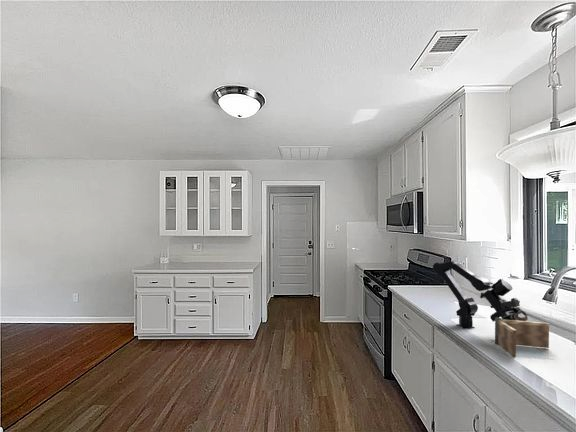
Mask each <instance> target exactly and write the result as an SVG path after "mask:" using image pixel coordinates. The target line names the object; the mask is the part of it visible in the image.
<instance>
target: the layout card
mask: <svg viewBox="0 0 576 432" xmlns="http://www.w3.org/2000/svg"><path fill="white" fill-rule="evenodd" d="M491 343H492V344H493V346H495V347H497V348H498V349H499V350H500V351H501V352H503V353H504V354H505V355H506V356H507V357H512V358H514V357H513V356H511V355H510V354H509V353H508V352H506V351H505V350H504V349H503V348H501V347H500V346H499V345H497V344H495V341H493V342H492V341H491ZM515 358H524V359H525V358H526V359H527V358H529V359H541V360H551V361H552V360H554V359H553V358H551V357H550V356H549V355H547V354H545V353H544V352H542V351H541V350H539V349H538V348H537V347H531V346H521V345H516V357H515Z"/></svg>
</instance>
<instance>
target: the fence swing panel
mask: <svg viewBox="0 0 576 432" xmlns="http://www.w3.org/2000/svg"><path fill="white" fill-rule="evenodd" d="M501 321H503V322H504V323H506V324H507V325H509V326H511V327H512V328H514V329H515V330H517V333H516V345H521V346H531V347H535V348H543V349H546V348H547V349H549V347H550V346H549V345H550V323H549V322H542V321H541V322H540V321H528V320H527V321H517V320H504V319H502V318H501Z"/></svg>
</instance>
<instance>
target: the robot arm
mask: <svg viewBox="0 0 576 432" xmlns="http://www.w3.org/2000/svg"><path fill="white" fill-rule="evenodd" d="M451 270H453V271H455V272H456V273H457V274H459V275H461V277H463V278H464V279H466V280H467V281H468V282H469V283H470V284H471V286H472V287H473V288H474V289H475V290H476V291H478V292H480V296H479V298H480V299H486V300H487V302H488V303H489V305H490V306H489V307H490V308H491V309H494V311H495V312H493V313H492V314H491V315H490V319H491V321H492V322H495V318H496V317H498V318H501V319H504V320H516V318H515V316H516V314H517V313H519V312H520V311H523V310H522V309H521V308H520V306H521V304H520V303H521V301H520V300H519V299H518V298H516V297H513V298H511V299H510V300H509V301H507V300H506V299H502V297H504V296H505V295H506V294H508V293H510V291H512V290H513V286H512V285H511V284H510V283H509V282H507V281H506V280H504V278H499V279H498V280H497V281H496V282H491V281H490V280H488V279H487V278H485V277H482V276H481V275H477V274H475V273H474V272H472V271H471V270H470V269H468V268H467V267H465V266H463V265H462V264H460V263H459V262H458V261H456V260H450V261H447V262H435V263H434V264H433V266H432V271H433V272H435V274H436V275H437V276H439V277H440V278H441V279H442V280H443V281H444V282H445V284H446V285H447V286H448V289H450V291H451V292H452V294H453V295H454V297H455V298H456V300H457V301H458V307H459V309H457V311H456V316H457V317H458V323H457V324H456V326H457V327H459V328H462V329H465V330H467V329H468V330H469V329H475V326H474V324H473V323H474V322H473V316H475V315H476V313H477V312H478V309H479V306H478V303H477V302H476V300H475V299H474V298H473V297H468V296H467V295H466V294H465V292H464V291H463V290H462V288H461V287H460V284H458V282H457V281H456V280H455V278H454V277H453V276H452V274H451ZM482 291H483V292H482ZM484 291H485V292H484Z"/></svg>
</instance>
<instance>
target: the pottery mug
mask: <svg viewBox="0 0 576 432" xmlns="http://www.w3.org/2000/svg"><path fill="white" fill-rule="evenodd" d="M520 314H523V316H524V317H520V316H519V315H520ZM515 318H516V320H517V321H528V320H529V319H528V318H529V317H528V314H527V313H526V312H525V311H524V310H522V311H520V312H519V313H517V314H516V316H515Z"/></svg>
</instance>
